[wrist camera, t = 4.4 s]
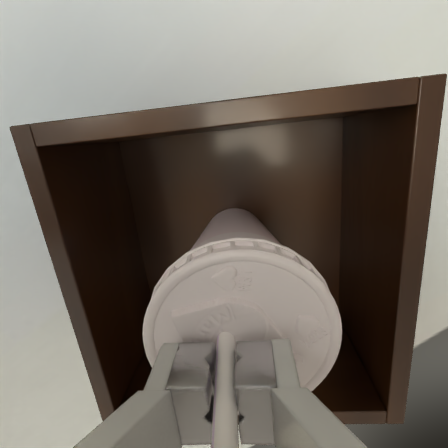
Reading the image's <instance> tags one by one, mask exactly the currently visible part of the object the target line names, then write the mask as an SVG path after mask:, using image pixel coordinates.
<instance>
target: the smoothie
mask: <svg viewBox="0 0 448 448" xmlns="http://www.w3.org/2000/svg"><path fill="white" fill-rule="evenodd" d="M142 335H143V344H144V349H145V353H146V356H147V359H148V361H149V363H150V365H151V367H152V368H153V365H154V363H155V360H156V358H157V355H158V353H159V350H160V348H161V346H162V345H163V344H164V343H181V342H214V343H215V346H216V366H215V385H214V403H213V422H212V441H211V448H239V440H238V415H239V411H238V410H237V406H236V398H235V389H234V383H235V364H236V363H237V359H236V342H237V341H255V340H271V339H287V338H289V340H290V341H291V346H292V350H293V355H294V359H295V364H296V368H297V373H298V377H299V382H300V386H301V388H304V387H306V388H308V389H309V390H310V391H313V390H314V389H315V388H316V387H317V386H318V385H319V384H320V383H321V382H322V381H323V380H324V379H325V377H326V376H327V375H328V373H329V372H330V370H331V369H332V367H333V365H334V363H335V361H336V359H337V356H338V353H339V350H340V346H341V341H342V323H341V317H340V313H339V310H338V307H337V304H336V302H335V300H334V298H333V296H332V295H331V293H330V291H329V288H328V286H327V284H326V281H325V279H324V278H323V277H322V276H321V274H320V273H319V272H318V271H317V270H316V269H315V267H314V266H313V265H312V264H311V263H310V261H308V260H307V259H305V258H304V257H302V256H301V255H299V254H298V253H296V252H295V251H293V250H292V249H290V248H289V247H286V246H283V245H281V244H280V243H279V242H278V240H277V239H276V238H275V237H274V236H273V235H272V234H271V233H270V232H269V231H268V230H267V228H266V227H265V226H264V225H263V224H262V223H261V222H260V221H259V220H258V219H257V218H256V217H255V216H254V215H253V214H252V213H250V212H248V211H246V210H243V209H238V208H231V209H226V210H224V211H221V212H220V213H218V214H217V215H215V216H214V217H213V218H212V220H211V221H210V222H209V224H208V225H207V227H206V228H205V230H204V231H203V232H202V234H201V235H200V237H199V238H198V240H197V241H196V243H195V244H194V245H193V247H192V248H191V250H190V251H188V252H186V253H185V254H184V255H183V256H182V257H180V258H179V259H178V260H177V261H175V262H174V263H173V264H172V265H171V266H169V267H168V268H167V270H166V271H165V272H164V274H163V275H162V277H161V278H160V280H159V281H158V283H157V284H156V286H155V287H154V290H153V294H152V297H151V300H150V302H149V305H148V307H147V310H146V313H145V317H144V322H143V334H142Z"/></svg>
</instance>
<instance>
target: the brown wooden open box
mask: <svg viewBox="0 0 448 448" xmlns="http://www.w3.org/2000/svg"><path fill="white" fill-rule="evenodd" d="M446 78H447V74H437V75H429V76H421V77H412V78H403V79H395V80H387V81H379V82H370V83H362V84H354V85H346V86H338V87H329V88H321V89H313V90H305V91H296V92H288V93H280V94H272V95H263V96H255V97H247V98H239V99H231V100H222V101H214V102H206V103H198V104H189V105H181V106H173V107H165V108H156V109H148V110H140V111H132V112H124V113H115V114H107V115H99V116H91V117H82V118H74V119H66V120H58V121H50V122H41V123H33V124H25V125H17V126H11V127H10V131H11V134H12V137H13V140H14V143H15V146H16V150H17V153H18V156H19V159H20V162H21V165H22V168H23V172H24V175H25V178H26V181H27V184H28V187H29V190H30V194H31V197H32V200H33V203H34V206H35V209H36V213H37V216H38V219H39V222H40V225H41V228H42V231H43V235H44V238H45V241H46V244H47V247H48V250H49V253H50V257H51V260H52V263H53V266H54V269H55V272H56V275H57V279H58V282H59V285H60V288H61V291H62V294H63V297H64V301H65V304H66V307H67V310H68V313H69V316H70V319H71V323H72V326H73V329H74V332H75V335H76V338H77V341H78V345H79V348H80V351H81V354H82V357H83V360H84V363H85V367H86V370H87V373H88V376H89V379H90V382H91V385H92V389H93V392H94V395H95V398H96V401H97V404H98V407H99V411H100V414H101V417H102V420H103V421H104V420H105V419H106V418H107V417H109V416H110V415H111V414H112V413H113V412H114V411H115V410H117V409H118V408H119V407H120V406H121V405H122V404H123V403H125V402H126V401H127V400H128V399H129V398H130V397H131V396H133V395H134V394H135V393H136V392H137V391H143V390H144V388H145V385H146V383H147V380H148V378H149V375H150V373H151V370H152V367H151V365H150V363H149V361H148V359H147V356H146V353H145V349H144V344H143V335H142V334H143V322H144V317H145V313H146V310H147V307H148V305H149V302H150V300H151V297H152V294H153V290H154V287H155V286H156V284H157V283H158V281H159V280H160V278H161V277H162V275H163V274H164V272H165V271H166V270H167V268H168V267H169V266H171V265H172V264H173V263H174V262H175V261H177V260H178V259H179V258H180V257H182V256H183V255H184V254H185V253H186V252H188V251H190V250H191V248H192V247H193V245H194V244H195V243H196V241H197V240H198V238H199V237H200V235H201V234H202V232H203V231H204V230H205V228H206V227H207V225H208V224H209V222H210V221H211V220H212V218H213V217H214V216H215V215H217V214H218V213H220V212H221V211H224V210H226V209H231V208H238V209H243V210H246V211H248V212H250V213H252V214H253V215H254V216H255V217H256V218H257V219H258V220H259V221H260V222H261V223H262V224H263V225H264V226H265V227H266V228H267V230H268V231H269V232H270V233H271V234H272V235H273V236H274V237H275V238H276V239H277V240H278V242H279V243H280V244H281V245H283V246H286V247H289V248H290V249H292V250H293V251H295V252H296V253H298V254H299V255H301V256H302V257H304V258H305V259H307V260H308V261H310V263H311V264H312V265H313V266H314V267H315V269H316V270H317V271H318V272H319V273H320V274H321V276H322V277H323V278H324V279H325V281H326V284H327V286H328V288H329V291H330V293H331V295H332V296H333V298H334V300H335V302H336V304H337V307H338V310H339V313H340V317H341V323H342V341H341V346H340V350H339V353H338V356H337V359H336V361H335V363H334V365H333V367H332V369H331V370H330V372H329V373H328V375H327V376H326V377H325V379H324V380H323V381H322V382H321V383H320V384H319V385H318V386H317V387H316V388H315V389H314V390H313V391H311V392H312V393H313V394H314V395H315V396H316V397H317V398H318V399H319V400H320V401H321V402H322V403H323V404H324V405H325V406H326V407H327V408H328V409H329V410H330V411H331V412H332V413H333V414H334V415H335V416H336V417H337V418H338V419H339V420H340V421H341V422H342V423H343V424H385V423H387V424H403V423H404V418H405V409H406V402H407V393H408V386H409V378H410V369H411V361H412V353H413V345H414V337H415V329H416V321H417V313H418V305H419V297H420V288H421V280H422V272H423V264H424V256H425V248H426V240H427V232H428V224H429V216H430V207H431V199H432V191H433V183H434V175H435V167H436V159H437V151H438V143H439V135H440V126H441V118H442V110H443V102H444V94H445V86H446ZM238 425H239V415H238Z"/></svg>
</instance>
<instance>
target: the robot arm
mask: <svg viewBox="0 0 448 448" xmlns="http://www.w3.org/2000/svg"><path fill="white" fill-rule="evenodd" d="M236 359H237V363H236V364H235V383H234V389H235V398H236V406H237V410H238V411H239V432H240V439H241V444H255V445H275V448H368V447H367V446H365V444H363V442H362V441H360V439H358V438H357V437H356V436H355V435H354V434H353V433H352V432H351V431H350V430H349V429H348V428H347V427H346V426H345V425H344V424H343V423H342V422H341V421H340V420H339V419H338V418H337V417H336V416H335V415H334V414H333V413H332V412H331V411H330V410H329V409H328V408H327V407H326V406H325V405H324V404H323V403H322V402H321V401H320V400H319V399H318V398H317V397H316V396H315V395H314V394H313V393H312V392H311V391H310V390H309V389H308V388H306V387H304V388H301V386H300V382H299V377H298V373H297V368H296V364H295V359H294V355H293V350H292V346H291V341H290V340H289V338H287V339H271V340H255V341H237V342H236ZM215 366H216V346H215V343H214V342H181V343H164V344H163V345H162V346H161V348H160V350H159V353H158V355H157V358H156V360H155V363H154V365H153V368H152V370H151V373H150V375H149V378H148V380H147V383H146V385H145V388H144V390H143V391H137V392H136V393H135V394H134V395H133V396H131V397H130V398H129V399H128V400H127V401H126V402H125V403H123V404H122V405H121V406H120V407H119V408H118V409H117V410H115V411H114V412H113V413H112V414H111V415H110V416H109V417H107V418H106V419H105V420H104V421H103V422H102V423H101V424H99V425H98V426H97V427H96V428H95V429H94V430H93V431H91V432H90V433H89V434H88V435H87V436H86V437H85V438H83V439H82V440H81V441H80V442H79V443H78V444H76V445H75V446H74V447H73V448H182V445H200V444H211V441H212V422H213V403H214V385H215Z"/></svg>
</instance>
